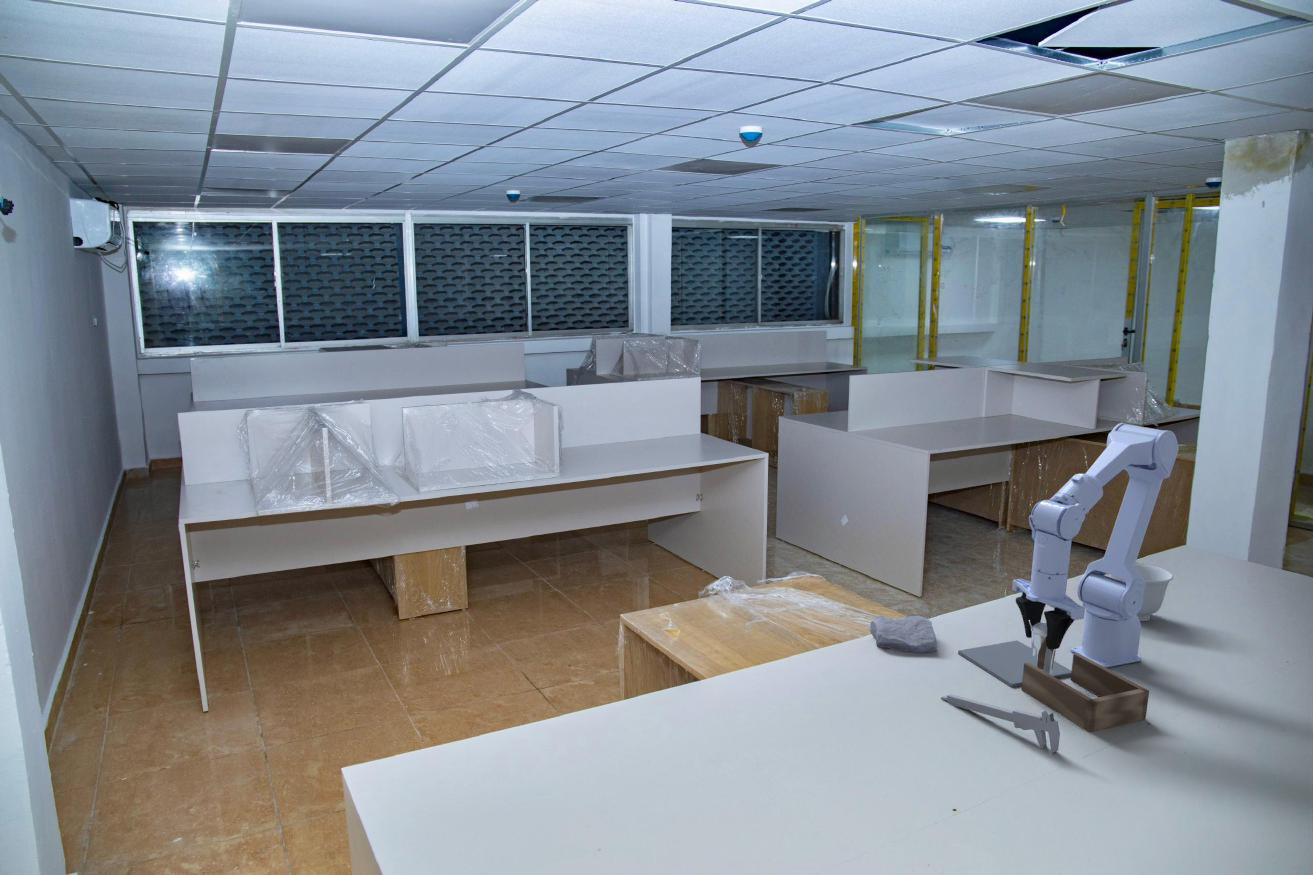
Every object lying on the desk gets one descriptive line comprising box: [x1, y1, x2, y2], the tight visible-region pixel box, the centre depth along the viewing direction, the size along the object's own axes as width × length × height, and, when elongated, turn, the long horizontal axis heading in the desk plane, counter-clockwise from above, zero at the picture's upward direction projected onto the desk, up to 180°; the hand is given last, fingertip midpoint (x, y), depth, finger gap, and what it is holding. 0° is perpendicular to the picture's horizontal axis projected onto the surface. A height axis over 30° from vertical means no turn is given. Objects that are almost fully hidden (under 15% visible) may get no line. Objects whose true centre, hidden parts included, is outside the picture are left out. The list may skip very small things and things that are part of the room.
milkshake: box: [1029, 621, 1057, 675], centre depth 152 cm, size 4×5×10 cm
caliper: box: [940, 693, 1061, 754], centre depth 137 cm, size 20×1×6 cm, turn 35°
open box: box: [1020, 653, 1150, 733], centre depth 143 cm, size 12×14×5 cm
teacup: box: [1107, 562, 1174, 622], centre depth 181 cm, size 12×15×10 cm
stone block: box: [869, 615, 938, 654], centre depth 167 cm, size 12×5×10 cm
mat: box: [957, 640, 1072, 688], centre depth 158 cm, size 14×14×1 cm
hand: (1042, 642), depth 151 cm, fingers closed on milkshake, 4 cm apart
